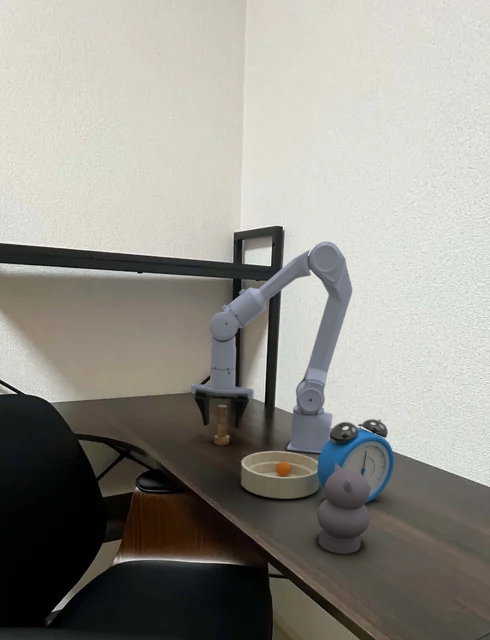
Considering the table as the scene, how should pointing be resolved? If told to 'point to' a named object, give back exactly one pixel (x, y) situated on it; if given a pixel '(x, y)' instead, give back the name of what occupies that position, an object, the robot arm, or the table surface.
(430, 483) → the table surface
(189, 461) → the table surface
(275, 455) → the bowl
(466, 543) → the table surface
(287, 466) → the ball
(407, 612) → the table surface
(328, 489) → the cat figurine
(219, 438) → the muddler
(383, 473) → the alarm clock
